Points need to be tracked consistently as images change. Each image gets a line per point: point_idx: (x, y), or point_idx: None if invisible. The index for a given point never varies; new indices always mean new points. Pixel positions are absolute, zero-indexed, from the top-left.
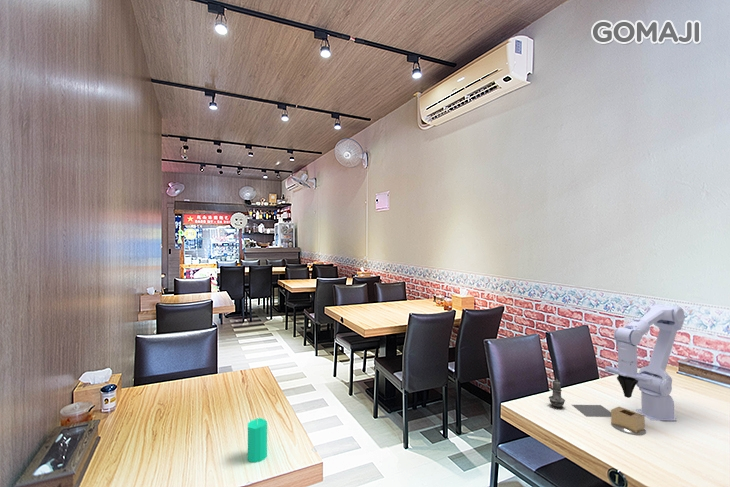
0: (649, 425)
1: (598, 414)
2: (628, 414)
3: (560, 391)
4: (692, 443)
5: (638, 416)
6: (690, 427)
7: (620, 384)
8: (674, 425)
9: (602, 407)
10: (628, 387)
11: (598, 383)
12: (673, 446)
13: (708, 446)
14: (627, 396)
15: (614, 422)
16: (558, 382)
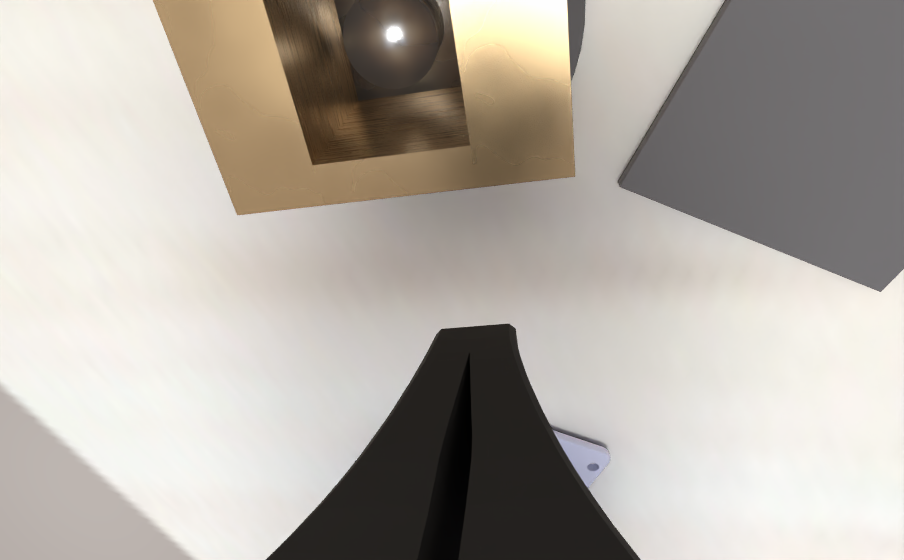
0: (392, 304)
1: (798, 11)
2: (419, 133)
3: None
4: (83, 302)
5: (220, 99)
6: (290, 500)
7: (595, 510)
8: (337, 452)
9: (842, 253)
10: (359, 505)
11: None
12: (28, 101)
13: (43, 353)
14: (450, 337)
15: None
16: None
